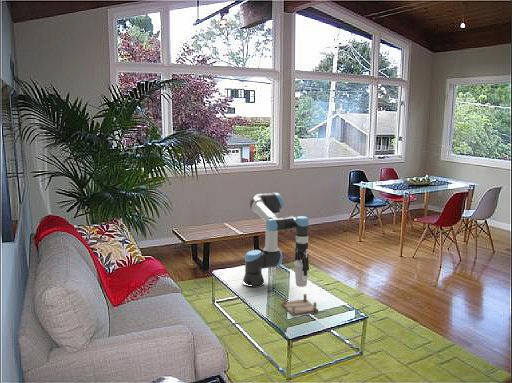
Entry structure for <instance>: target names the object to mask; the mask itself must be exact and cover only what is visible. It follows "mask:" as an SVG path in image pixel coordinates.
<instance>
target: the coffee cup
mask: <svg viewBox="0 0 512 383" xmlns="http://www.w3.org/2000/svg"><path fill="white" fill-rule="evenodd" d="M293 266H294V273H295V274H294V275H295V276H294V277H295V286H297V287H299V288H301V287H302V288H303V287H307V285H308V280H307V281H302V270H303V263H302V260H296V261H295V260H294V261H293ZM308 276H309V270H308V271H307V278H308Z"/></svg>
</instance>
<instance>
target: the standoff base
mask: <svg viewBox="0 0 512 383" xmlns="http://www.w3.org/2000/svg"><path fill="white" fill-rule="evenodd" d="M282 298H283V301H282V302H281V306H282V307H283V308H284V309H285V310H286V311H287V312H288V313H289V314H290V315H291V316H299V315H300V316H301V315H304V314H312V313H319V309H318V308H317V302H315V301H314V302H313V304H312V303H311V302H310V301H309V300H308V299H307V294H306V293H304V294H303V299H297V300H290V301H287V297H286V296H283V297H282Z"/></svg>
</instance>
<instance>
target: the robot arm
mask: <svg viewBox="0 0 512 383" xmlns="http://www.w3.org/2000/svg"><path fill="white" fill-rule="evenodd" d="M249 207H250V210H251V211H252V212H253V213H255V214H257V215H258V216H259V217H260V218H261V219H262V220H263V221H264V223H265V244H264V248H262V250H263V251H261V250H259V249H253V250H248V252H246V253H245V256H244V257H245V258H244V262H245V263H244V267H245V268H244V270H245V272H244V276H243V278H242V282H243V281H244V282H245V283H246V284H248V285H252V286H260V285H262V284H263V283H264V284H265V280H264V277H263V276H264V275H263V273H262V271H263V269H264V270H265V269H272V268H276V267H280V266H281V265H282V262H283V258H284V257H283V253H282V251H281V250H280V248H279V247H278V231H288V230H295V250H294V262H295V261H296V260H302V263H303V270H302V281H307V282H308V277H307V271H308V272H309V271H310V262H309V255H310V254H308V253H307V251H306V250H308V249H309V225H310V222H309V217H307V216H304V215H303V216H301V215H299V216H296V215H289V216H287V217H278V216H279V214H280V213H281V212H280V210H282V209H283V207H284V201H283V197H282V195H281V194H280V193H278V192H265V193H264V192H263V193H256V194H255V195H253V196H252V197H251V199H250V201H249ZM262 286H263V285H262ZM260 287H261V286H260Z"/></svg>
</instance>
